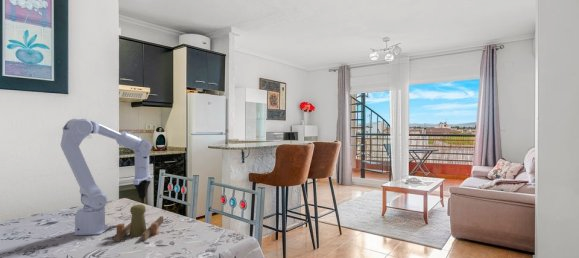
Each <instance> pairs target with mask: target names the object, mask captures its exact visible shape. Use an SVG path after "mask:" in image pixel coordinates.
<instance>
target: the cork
mask: <svg viewBox="0 0 579 258" xmlns="http://www.w3.org/2000/svg"><path fill="white" fill-rule="evenodd" d="M146 209H147V208H146V206H145V205H144V204H135V205H132V206H131V207H130V210H129V212H130V214H131V219H130V223H131V227H130V232H129V233H128V235H129V237H132V238H138V237H142V233H143V232H145V231H146V230H147V229H148V228H147V225H146V224H147V223H146V217H145V212H146Z"/></svg>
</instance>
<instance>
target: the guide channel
mask: <svg viewBox="0 0 579 258" xmlns="http://www.w3.org/2000/svg"><path fill="white" fill-rule="evenodd" d="M163 223H164V216H163V215H162V216H159V217H157V219H156V220H155V221H154V222H152V223H151V224H150V225H149V227H147V228H146V229H147V230H146V231H145V232H143V233H142V236H141V241H142V242H146V241H147V240H148V239H149V238H150V237H151V236H157V235H158V234H159V227H160V226H161V225H162V224H163ZM115 227H116V229H115V230H116V234H114V243H119V242H120V241H121V240H123V239H124V238H125V237H126V236H127V235H129V234H130V227H131V222H130V223H129V224H127V225H126V226H125V223H118V224H116V226H115Z"/></svg>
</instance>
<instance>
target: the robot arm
mask: <svg viewBox="0 0 579 258" xmlns="http://www.w3.org/2000/svg"><path fill="white" fill-rule="evenodd" d="M90 134H98V135H101V136H104V137H106V138H110V139H112V140H115V141H116V143H117V145H119V146H122V147H124V148H126V149H129V150H132V151H133V152H134V179H132V184H133V186H134V187H135V189H136V191H137V195H138V198H139V199H146V196H147V192H148V188H149V187H150V184H151V180H150V179H153V176H151V173H150V152H151V150H152V148H153V147H152V146H153V145H152V144H151V142H150V141H149V140H147V139H142V137H141V136H140V135H139V136H136V135H134V134H132V132H131V131H127V130H126V131H122V132H119V131H118V130H114V129H112V128H110V127H108V126H105V125H103V124H101V123H99V122H96V121H93V120H89V119H87V118H79V119H78V118H72V119H69V120H68V121H67V122H66V123H65V124H64V125H63V127H62V136H61V141H60V148H61V150H62V151H63V154H64V157H65V158H66V161H67V163H68V165H69V167H70V169H71V171H72V173H73V175H74V176H73V177H75V180H76V182H77V184H78V186H79V194H80V203H81V204H82V205H83V207H82V208H81V209H78V210H77V211H76V212H75V216H74V233H73V236H87V235H88V236H89V235H101V234H103V233H104V232H106V231H107V230H108V229H110V227H111V226H110V225H108V226H107V225H106V206H107V203H108V196H107V195H106V194H105V193H104V192H102V190H101V188H100V186H99V185H97V183H96V181H95V179H94V177H93V175H92V172H91V170H90V168H89V166H88V163H87V161H86V159H85V157H84V154H83V152H82V150H81V148H80V145H81V144H82V142H83V140H84V139H86V137H88V136H89V135H90Z"/></svg>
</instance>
